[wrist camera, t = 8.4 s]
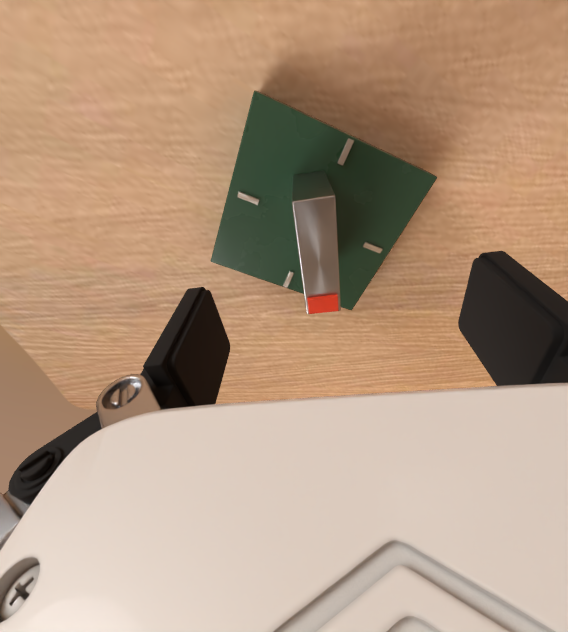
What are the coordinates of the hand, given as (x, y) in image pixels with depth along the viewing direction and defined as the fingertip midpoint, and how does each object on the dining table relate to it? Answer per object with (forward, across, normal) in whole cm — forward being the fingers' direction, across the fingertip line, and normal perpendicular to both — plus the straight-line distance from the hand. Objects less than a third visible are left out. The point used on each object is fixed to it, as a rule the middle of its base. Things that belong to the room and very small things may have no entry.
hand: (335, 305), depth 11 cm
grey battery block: (+11, +1, +1) cm, 11 cm away
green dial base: (+14, +1, +1) cm, 14 cm away
